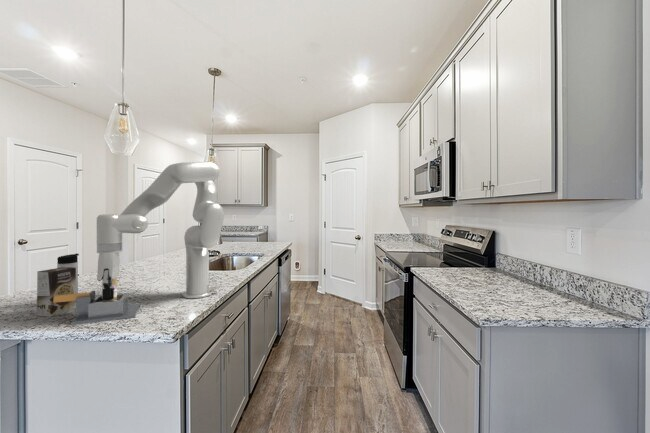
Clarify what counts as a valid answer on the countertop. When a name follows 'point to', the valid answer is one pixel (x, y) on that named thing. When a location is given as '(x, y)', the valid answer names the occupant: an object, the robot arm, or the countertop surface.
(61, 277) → the coffee box
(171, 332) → the countertop surface
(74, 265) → the travel mug
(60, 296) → the lock bar
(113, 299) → the sprinkles bottle
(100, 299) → the dock
